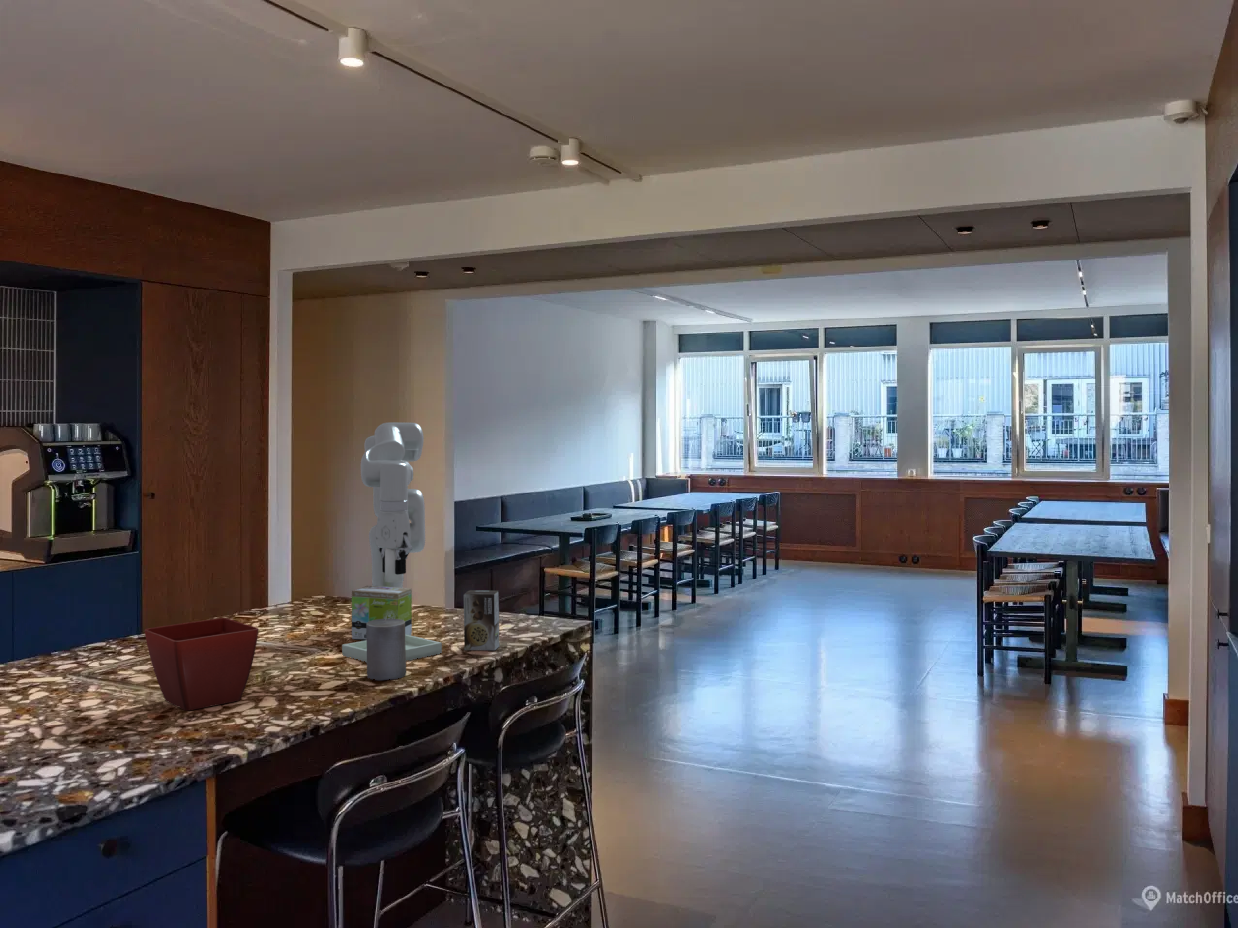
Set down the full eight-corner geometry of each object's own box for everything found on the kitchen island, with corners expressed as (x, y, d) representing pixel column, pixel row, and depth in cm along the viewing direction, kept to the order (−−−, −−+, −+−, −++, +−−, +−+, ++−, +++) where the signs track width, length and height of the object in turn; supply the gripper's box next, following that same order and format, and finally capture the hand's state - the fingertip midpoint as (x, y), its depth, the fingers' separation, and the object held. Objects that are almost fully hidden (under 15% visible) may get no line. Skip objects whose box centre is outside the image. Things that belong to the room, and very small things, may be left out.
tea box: (350, 640, 298) (350, 590, 297) (367, 633, 307) (366, 584, 307) (397, 643, 294) (397, 592, 293) (412, 635, 304) (412, 586, 303)
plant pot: (143, 700, 233) (142, 627, 232) (225, 685, 246) (225, 616, 245) (176, 718, 219) (175, 641, 218) (261, 701, 232) (260, 628, 232)
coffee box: (500, 645, 291) (500, 590, 290) (495, 650, 284) (495, 593, 284) (468, 645, 292) (468, 589, 291) (463, 650, 285) (463, 593, 284)
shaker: (380, 581, 279) (380, 539, 278) (396, 578, 283) (396, 537, 282) (392, 583, 275) (392, 541, 275) (408, 580, 279) (408, 539, 279)
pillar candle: (384, 669, 263) (383, 611, 262) (414, 673, 258) (413, 615, 257) (358, 678, 254) (357, 618, 253) (388, 682, 250) (387, 622, 249)
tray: (342, 655, 278) (342, 644, 277) (402, 643, 293) (402, 633, 293) (381, 666, 266) (381, 654, 266) (441, 653, 281) (441, 642, 281)
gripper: (363, 506, 281) (364, 571, 282) (401, 509, 270) (402, 577, 271) (386, 504, 287) (386, 568, 287) (424, 507, 276) (424, 574, 276)
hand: (394, 572), depth 279 cm, fingers closed on shaker, 5 cm apart
